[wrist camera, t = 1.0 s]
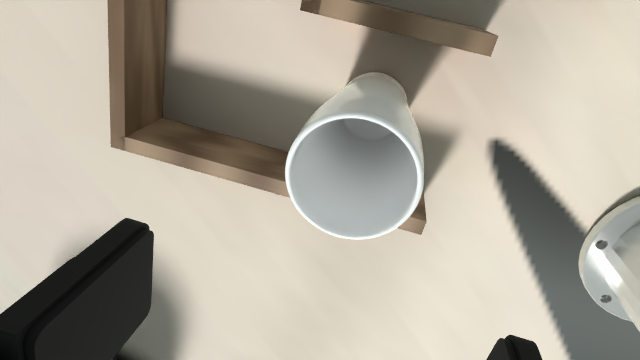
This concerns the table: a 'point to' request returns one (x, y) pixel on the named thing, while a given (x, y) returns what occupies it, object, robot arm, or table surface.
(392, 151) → the white cup
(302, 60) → the table surface
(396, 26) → the angular wooden frame
